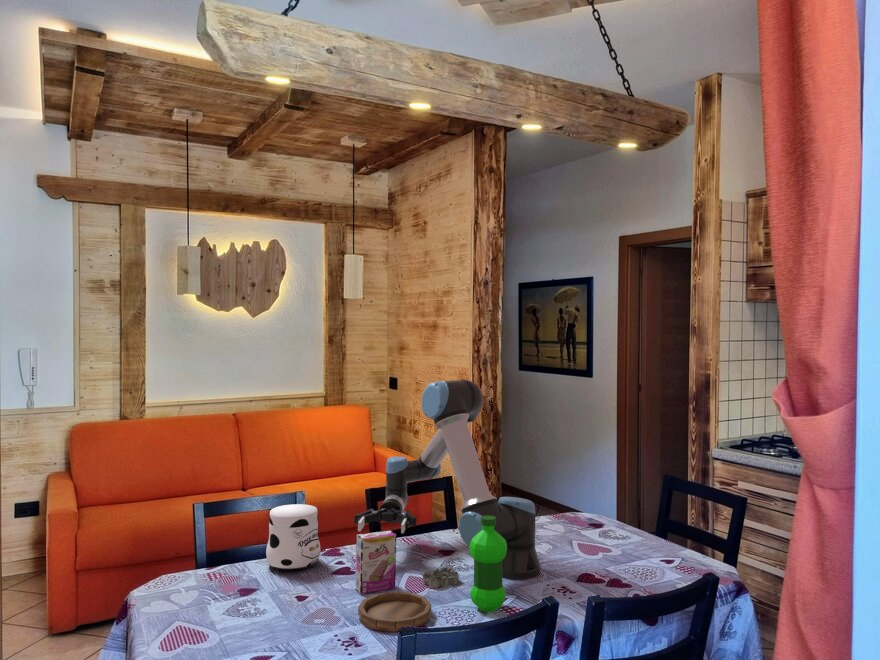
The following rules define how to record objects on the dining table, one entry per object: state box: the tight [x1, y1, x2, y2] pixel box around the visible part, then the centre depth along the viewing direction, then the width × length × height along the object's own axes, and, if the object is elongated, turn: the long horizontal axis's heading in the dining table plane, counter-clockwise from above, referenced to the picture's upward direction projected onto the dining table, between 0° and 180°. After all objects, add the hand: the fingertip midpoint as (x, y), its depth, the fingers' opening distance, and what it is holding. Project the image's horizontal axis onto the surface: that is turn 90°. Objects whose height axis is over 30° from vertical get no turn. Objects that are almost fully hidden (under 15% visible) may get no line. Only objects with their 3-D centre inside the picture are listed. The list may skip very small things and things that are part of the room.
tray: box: [357, 591, 432, 633], centre depth 179 cm, size 19×19×3 cm
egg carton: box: [420, 565, 461, 589], centre depth 203 cm, size 11×8×4 cm
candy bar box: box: [355, 530, 397, 596], centre depth 198 cm, size 11×5×16 cm, turn 117°
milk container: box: [265, 503, 321, 571], centre depth 218 cm, size 17×17×18 cm
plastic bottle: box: [468, 516, 507, 613], centre depth 185 cm, size 10×10×25 cm
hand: (380, 528), depth 208 cm, fingers open, 13 cm apart
